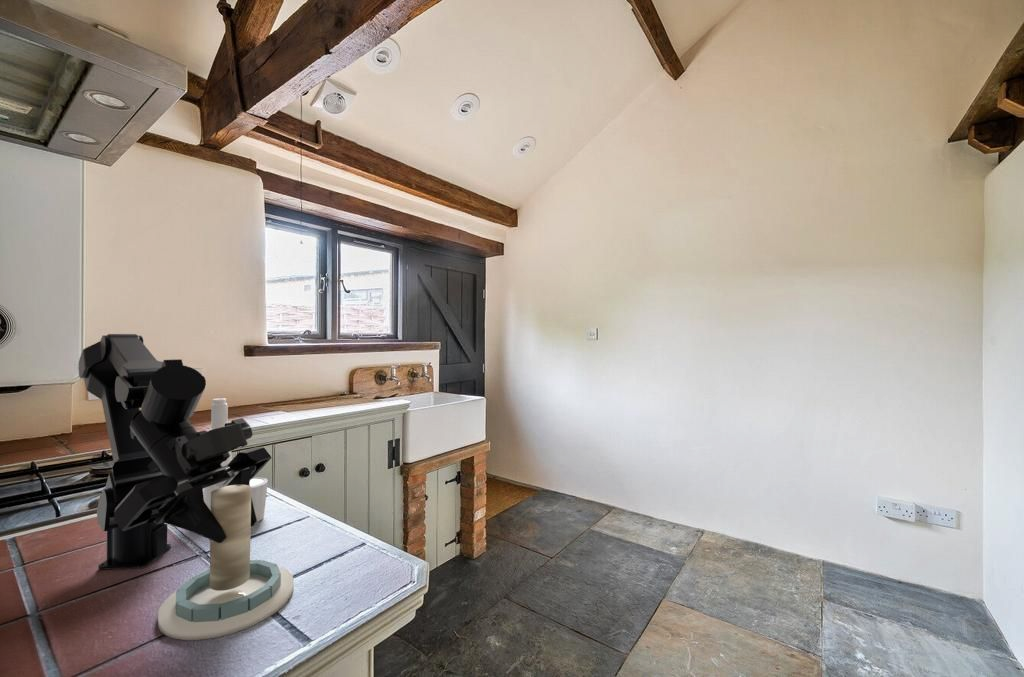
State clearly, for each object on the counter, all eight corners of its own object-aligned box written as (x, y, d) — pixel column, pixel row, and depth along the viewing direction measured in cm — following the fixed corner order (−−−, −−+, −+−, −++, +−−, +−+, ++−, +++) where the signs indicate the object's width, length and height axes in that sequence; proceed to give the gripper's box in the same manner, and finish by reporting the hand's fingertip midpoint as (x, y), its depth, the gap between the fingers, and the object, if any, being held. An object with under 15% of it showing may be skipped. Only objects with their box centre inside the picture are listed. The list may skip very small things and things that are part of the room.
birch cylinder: (202, 591, 56) (203, 497, 56) (221, 572, 61) (222, 484, 61) (239, 589, 57) (241, 496, 57) (255, 571, 61) (257, 484, 61)
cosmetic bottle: (239, 501, 93) (240, 396, 93) (232, 511, 88) (233, 400, 88) (205, 504, 91) (206, 397, 91) (196, 515, 86) (197, 401, 85)
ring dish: (126, 644, 51) (126, 622, 51) (202, 573, 65) (202, 556, 65) (265, 635, 52) (265, 614, 52) (308, 568, 67) (308, 552, 67)
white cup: (248, 528, 81) (248, 490, 80) (216, 525, 82) (216, 487, 82) (275, 513, 87) (276, 478, 87) (245, 510, 89) (245, 475, 89)
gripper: (133, 415, 50) (212, 523, 48) (261, 393, 69) (323, 471, 66) (81, 477, 52) (154, 585, 50) (219, 440, 71) (277, 518, 68)
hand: (239, 532), depth 59 cm, fingers closed on birch cylinder, 4 cm apart
